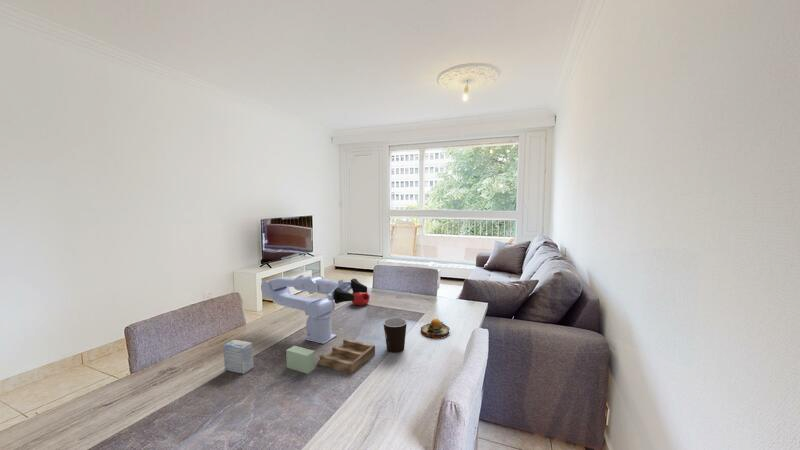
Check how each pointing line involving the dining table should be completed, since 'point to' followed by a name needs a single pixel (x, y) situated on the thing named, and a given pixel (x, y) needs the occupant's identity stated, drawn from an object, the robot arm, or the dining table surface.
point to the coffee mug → (395, 334)
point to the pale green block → (300, 359)
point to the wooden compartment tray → (348, 356)
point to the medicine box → (238, 356)
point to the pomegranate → (361, 298)
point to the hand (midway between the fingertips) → (360, 293)
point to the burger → (435, 329)
